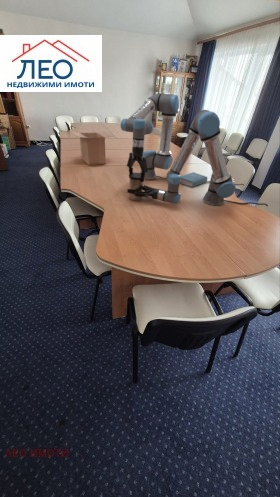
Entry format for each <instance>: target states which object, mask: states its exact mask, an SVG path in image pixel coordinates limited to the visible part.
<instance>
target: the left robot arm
mask: <svg viewBox="0 0 280 497" xmlns="http://www.w3.org/2000/svg"><path fill="white" fill-rule="evenodd" d="M180 110H181V100H180V96H179V95H177V94H174V93H162V92H158V93H155V94H153V95H151V96H149V97H147V99H146V100H144V101H143V104H142V105H141V106H140V107H139V108H138V109H137V110H136V111H134V113H132V115H130V117H128V118H122V119H121V121H120V129H121V131H123V132H126V133H128V132H129V133H132V147H131V148H132V149H131V152H129V154H128V155H129V156H128V160H127V163H126V167H127V168H128V175H129V174H130V173H134V167H133V166H135V163H138V165H139V167H140V172H139V173H141V182H143V183H144V182H145V180H146V181H154V180H156V178H160V179H164V180H167V178H166V177H162V176H160V175H157V174H156V169H161V170H170V169H171V167H172V165H173V162H174V156H172V152H171V142H172V134H173V126H174V119H175V118H176V116H177V114H179V112H180ZM154 112H160V116H161V117H162V121H161V129H160V130H161V131H160V140H159V141H160V142H159V150H155V149H154V150H153V149H151V150H150V149H149V150H145V151H144V149H145V148H144V147H145V137H146V136H147V135H150V134H152V133H153V131H154V130H155V129H154V128H155V126H154V123H153V122H152V121H149V120H145V119H146V118H147V117H148V116H149V115H150V114H153V113H154ZM142 154H143V155H142ZM155 168H156V169H155ZM206 183H210V180H207V182H206ZM234 184H235V186H243V187H244V186H245V184H244V183H234Z"/></svg>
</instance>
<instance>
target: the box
mask: <svg viewBox="0 0 280 497" xmlns="http://www.w3.org/2000/svg"><path fill="white" fill-rule="evenodd" d="M70 133H71V134H72V135H74V136H75V137H77V138H79V144H80V153H81V160H83V162H85V163H86V165H87V166H95V165H97V166H98V165H106V163H107V162H106V158H107V157H106V138H113V137H114V136H113V135H111V134H109V133H108V132H105V131H98V132H96V131H95V130H92V129H91V130H77V132H76V131H70Z"/></svg>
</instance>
